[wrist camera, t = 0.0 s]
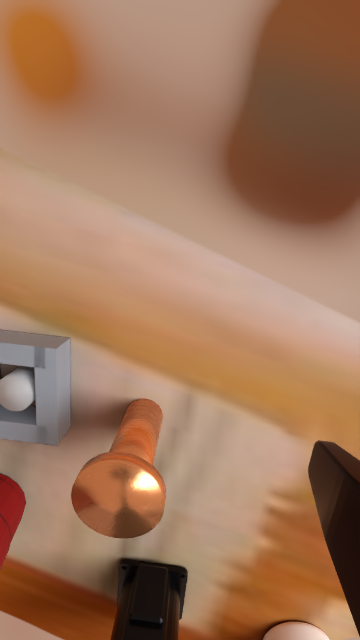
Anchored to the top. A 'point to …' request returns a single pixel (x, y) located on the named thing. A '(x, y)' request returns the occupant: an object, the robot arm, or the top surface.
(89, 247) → the top surface
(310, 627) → the bath foam
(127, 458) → the pin
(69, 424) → the frame
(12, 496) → the plastic cup
